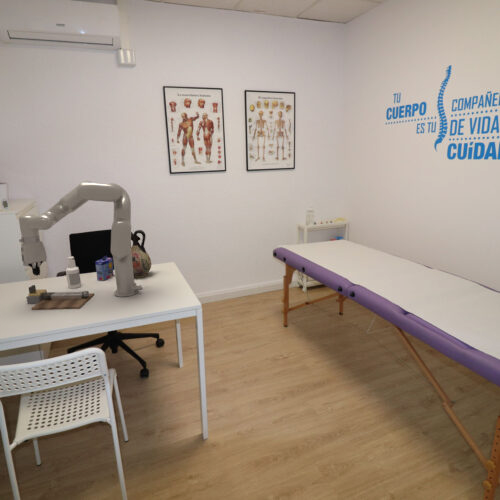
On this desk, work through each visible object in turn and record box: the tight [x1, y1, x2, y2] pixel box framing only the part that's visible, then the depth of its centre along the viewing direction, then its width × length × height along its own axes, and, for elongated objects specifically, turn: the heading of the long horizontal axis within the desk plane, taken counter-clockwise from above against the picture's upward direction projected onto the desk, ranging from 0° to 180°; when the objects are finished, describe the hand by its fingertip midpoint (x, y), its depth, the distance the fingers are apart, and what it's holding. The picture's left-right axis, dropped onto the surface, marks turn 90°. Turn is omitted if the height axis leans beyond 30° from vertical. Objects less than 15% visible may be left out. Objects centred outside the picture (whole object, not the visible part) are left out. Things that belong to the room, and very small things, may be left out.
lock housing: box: [26, 290, 48, 305], centre depth 190 cm, size 6×8×4 cm
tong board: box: [31, 292, 95, 311], centre depth 187 cm, size 24×18×1 cm
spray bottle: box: [65, 256, 82, 290], centre depth 207 cm, size 7×7×18 cm
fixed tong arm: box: [47, 291, 83, 294], centre depth 191 cm, size 19×2×2 cm, turn 91°
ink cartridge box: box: [94, 255, 115, 282], centre depth 221 cm, size 10×6×14 cm, turn 163°
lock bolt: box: [27, 284, 47, 296], centre depth 189 cm, size 6×6×4 cm
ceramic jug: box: [131, 229, 152, 279], centre depth 223 cm, size 17×15×30 cm
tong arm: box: [43, 290, 90, 300], centre depth 189 cm, size 23×4×3 cm, turn 90°
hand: (36, 274), depth 182 cm, fingers closed
